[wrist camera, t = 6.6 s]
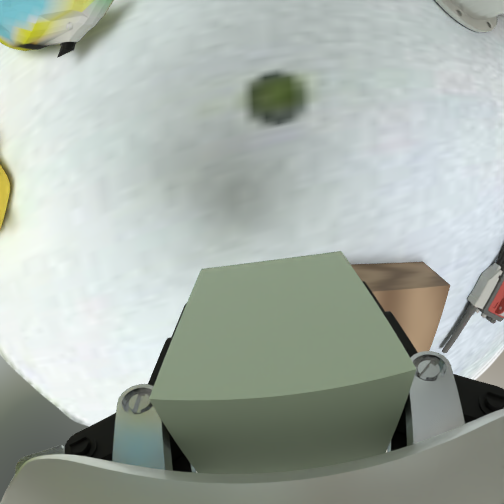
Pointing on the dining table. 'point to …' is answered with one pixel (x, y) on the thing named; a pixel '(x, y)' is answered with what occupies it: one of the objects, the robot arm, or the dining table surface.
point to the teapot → (3, 193)
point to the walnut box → (408, 297)
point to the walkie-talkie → (485, 298)
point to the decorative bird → (48, 22)
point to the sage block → (282, 369)
